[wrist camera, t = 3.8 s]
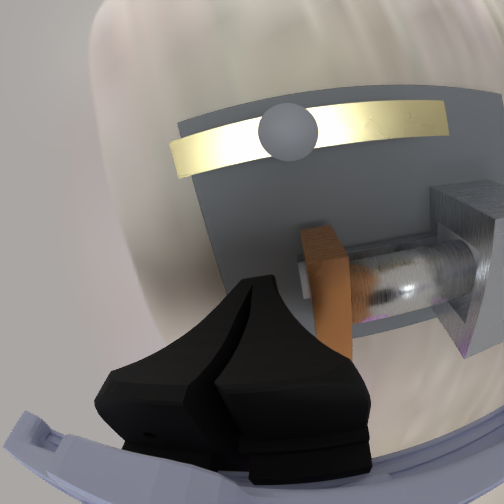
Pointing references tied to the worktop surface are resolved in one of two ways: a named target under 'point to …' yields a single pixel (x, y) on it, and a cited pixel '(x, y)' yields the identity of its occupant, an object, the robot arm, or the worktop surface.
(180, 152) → the keeper bar
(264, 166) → the grey latch board
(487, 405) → the worktop surface
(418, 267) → the orange block with stem
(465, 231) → the block
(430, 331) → the worktop surface
